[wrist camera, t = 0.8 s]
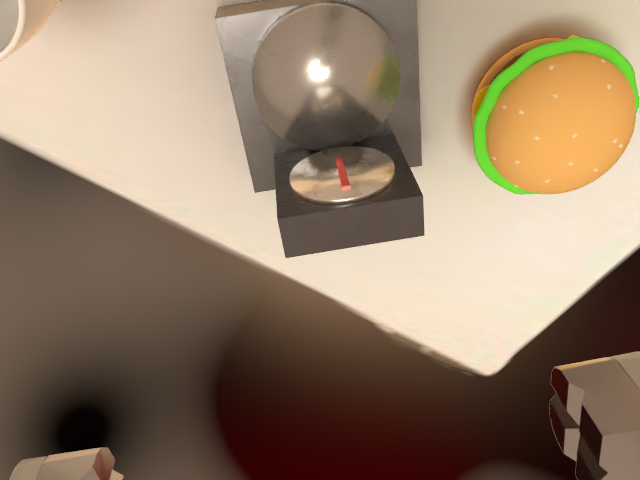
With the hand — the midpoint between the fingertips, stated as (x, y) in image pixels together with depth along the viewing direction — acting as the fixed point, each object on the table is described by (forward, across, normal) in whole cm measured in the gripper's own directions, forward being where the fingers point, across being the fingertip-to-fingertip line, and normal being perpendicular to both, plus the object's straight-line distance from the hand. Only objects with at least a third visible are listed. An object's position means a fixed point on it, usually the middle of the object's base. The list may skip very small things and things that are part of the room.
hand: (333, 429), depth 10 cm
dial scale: (+36, -2, +3) cm, 36 cm away
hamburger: (+36, -18, +8) cm, 41 cm away
